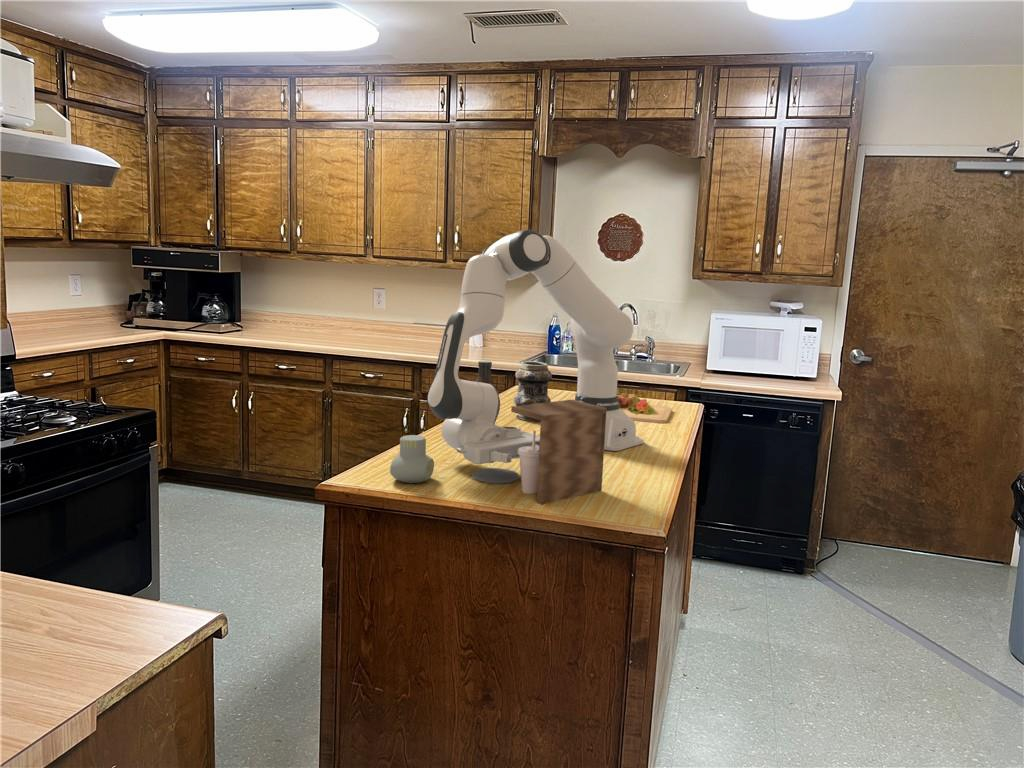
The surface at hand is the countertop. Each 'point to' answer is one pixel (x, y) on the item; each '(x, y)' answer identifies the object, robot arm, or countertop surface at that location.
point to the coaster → (495, 475)
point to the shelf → (568, 448)
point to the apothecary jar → (532, 385)
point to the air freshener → (412, 461)
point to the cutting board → (644, 410)
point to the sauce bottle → (484, 372)
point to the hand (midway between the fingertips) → (525, 456)
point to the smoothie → (529, 467)
